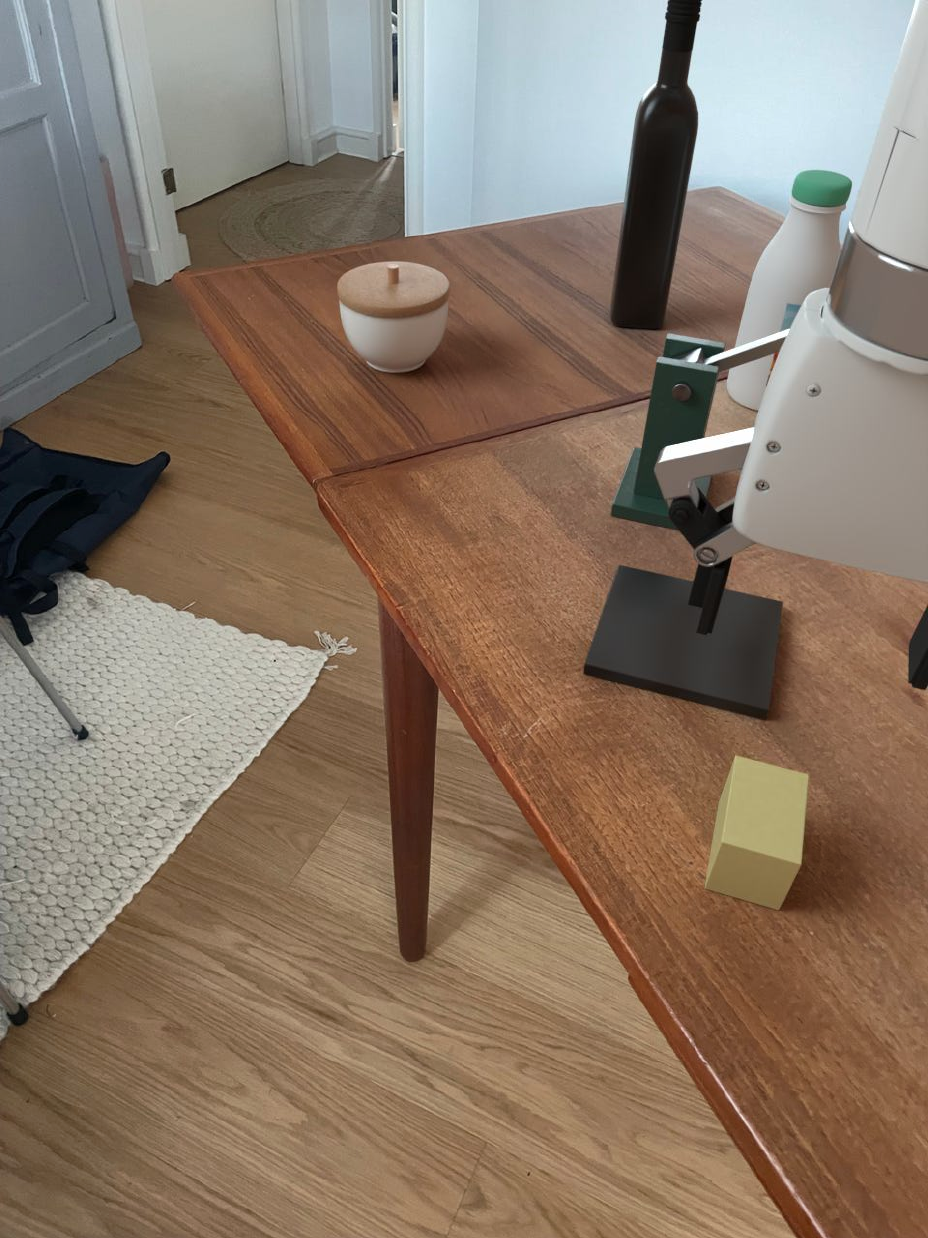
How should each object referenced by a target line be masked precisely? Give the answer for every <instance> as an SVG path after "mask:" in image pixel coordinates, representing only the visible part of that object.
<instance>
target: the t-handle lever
mask: <svg viewBox="0 0 928 1238" xmlns="http://www.w3.org/2000/svg"><path fill="white" fill-rule="evenodd" d="M789 330H790V329H787V330H785V331H782V332H779V333H776V334H773V335H771V336H768V337H765V338H762V339H759V340H757V341H754V342H751V343H748V344H745V345H743V346H740V347H737V348H735V347H734V348H731V349H728V350H726V351H724V352H723V353H720V354H717V355H715V356H712V357H709V358H705V356H704V353H703V351H702V349H701V348H700V349H697V350H694V351H691V352H689V353H686V354H683V355H681V356H678V357H675V358H672V359H677V360H682V361H688V362H694V363H700V364H706V365H711V366H717V367H719V370H718V373H719V374H720V373H722V372H725V371H729V370H730V369H731V368H734V367H737V366H739V365H742V364H745V363H748V362H751V361H754V360H757V359H760V358H763V357H765V356H768V355H771V354H774V353H777V352H780V349H781V347H782V345H783V343H784V341H785V338H786V336H787V334H788V332H789Z"/></svg>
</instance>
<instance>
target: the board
mask: <svg viewBox="0 0 928 1238" xmlns="http://www.w3.org/2000/svg"><path fill="white" fill-rule="evenodd" d="M693 582H694V580H689V579H684V578H681V577H675V576H671V575H667V574H662V573H657V572H654V571H649V570H645V569H641V568H635V567H631V566H626V565H624V564H618V565H617V567H616V571H615V573H614V576H613V579H612V583H611V585H610V588H609V591H608V593H607V598H606V599H605V603H604V605H603V608H602V611H601V614H600V617H599V619H598V623H597V626H596V628H595V632H594V634H593V637H592V641H591V642H590V643H591V644H590V647H589V649H588V652H587V655H586V658H585V660H584V663H583V671H582V673H583V675H586V676H590V677H595V678H598V679H603V680H607V681H609V682H613V683H618V684H622V685H626V686H629V687H632V688H633V687H635V688H637V689H641V690H645V691H650V692H654V693H657V694H661V695H665V696H669V697H674V698H678V699H680V700H685V701H689V702H693V703H696V704H701V705H705V706H708V707H713V708H717V709H721V710H725V711H729V712H733V713H736V714H740V715H744V716H748V717H752V718H756V719H760V720H765V721H766V719H767V717H768V714H769V711H770V704H771V698H772V689H773V682H774V675H775V666H776V659H777V652H778V645H779V638H780V637H779V636H780V629H781V622H782V614H783V606H784V601H782V600H778V599H773V598H768V597H765V596H760V595H755V594H751V593H748V592H747V593H746V592H742V591H737V590H735V589H734V590H733V589H729V588H725V589H724V592H723V596H722V599H721V603H720V606H719V610H718V613H717V617H716V620H715V624H714V627H713V631H712V634H710V633H707V635H703V634H699V633H696V631H697V627H698V623H699V619H700V616H701V612H702V608H700V607H696V606H692V605H688V602H689V598H690V594H691V590H692V586H693Z"/></svg>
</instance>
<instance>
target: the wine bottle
mask: <svg viewBox="0 0 928 1238" xmlns="http://www.w3.org/2000/svg"><path fill="white" fill-rule="evenodd" d="M702 1H703V0H667V6H666V11H665V15H664V19H665V26H664V27H665V28H664V33H663V34H664V35H663V40H662V47H661V56H660V61H659V62H660V63H659V70H658V76H657V81H656V83H654V84H652V86H651V87H649V88H648V90H646V92H645V93H644V94H643V96H642V97H641V99H640V100H639V103H638V106H637V109H636V111H635V117H634V124H633V133H632V138H631V139H632V140H631V145H630V146H631V147H630V152H629V153H630V156H629V160H628V161H629V162H628V167H627V168H628V169H627V177H626V184H625V192H624V200H623V208H622V213H621V221H620V229H619V238H618V244H617V252H616V258H615V259H616V260H615V268H614V274H613V281H612V282H613V283H612V290H611V298H610V305H609V306H610V307H609V309H610V321H611V323H612V325H614V326H617V327H621V328H632V329H633V328H635V329H647V330H648V329H650V330H651V329H652V330H658V329H660V328H662V327H663V326H664V324H665V321H666V314H667V307H668V302H669V296H670V292H671V285H672V279H673V275H674V274H673V273H674V267H675V261H676V256H677V251H678V246H679V239H680V234H681V228H682V222H683V217H684V211H685V205H686V200H687V194H688V188H689V182H690V176H691V171H692V165H693V160H694V155H695V148H696V144H697V138H698V132H699V131H698V130H699V110H698V105H697V101H696V97H695V95H694V93H693V90H692V89H691V87H690V86H689V83H688V81H689V74H690V68H691V62H692V56H693V50H694V46H695V45H694V44H695V39H696V34H697V33H696V32H697V26H698V22H699V21H700V19H701V14H700V13H701V11H702V10H701V9H702V4H703V3H702Z"/></svg>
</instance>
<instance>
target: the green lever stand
mask: <svg viewBox="0 0 928 1238" xmlns="http://www.w3.org/2000/svg"><path fill="white" fill-rule="evenodd" d="M726 344H727V343H726V342H723V341H716V340H710V339H704V338H698V337H692V336H687V335H681V334H675V333H667V335H666V338H665V340H664V347H663V352H662V356H658V357H657V360H656V363H655V369H654V374H653V380H652V385H651V390H650V395H649V396H650V397H649V402H648V407H647V413H646V420H645V425H644V429H643V430H644V431H643V435H642V443H641V447H637V446H634V447H633V448H632V452H631V454H630V457H629V459H628V462H627V464H626V467H625V469H624V472H623V475H622V478H621V480H620V483H619V486H618V488H617V490H616V494H615V497H614V499H613V501H612V504H611V510H610V516H611V517H614V518H619V519H624V520H629V521H634V522H638V523H643V524H648V525H653V526H657V527H662V528H666V529H671V530H675V531H679V530H678V528H677V527H676V526H675V525H674V523H673V522H672V521H671V520H670V518H669V515H668V512H669V507H668V505H667V502H666V500H664V497H663V494H662V492H661V489H660V486H659V483H658V481H657V478H656V475H655V472H654V467H655V464H656V462H657V459H658V456H659V454H660V451H661V450H662V449H663V448H665V447H667V446H672V445H676V444H681V443H685V442H690V441H694V440H699V439H703V438H706V437H705V436H706V433H707V429H708V423H709V419H710V415H711V410H712V406H713V401H714V397H715V394H716V388H717V384H718V381H719V375H720V372H719V373H718V370H719V367H717V366H711V365H706V364H700V363H694V362H688V361H682V360H677V359H672V358H675V357H678V356H681V355H683V354H686V353H689V352H691V351H694V350H697V349H700V348H701V349H702V351H703V353H704V356H705V358H709V357H712V356H715V355H717V354H720V353H723V352H725V349H726ZM712 477H713V475H712V476H707V477H702V478H697V479H695V484H696V486H697V487H698V488H699V489H700V490H701V492H702V493H703V494H704V496H705V497H706V498H707V497H708V493H709V489H710V485H711V481H712V479H713V478H712ZM707 499H708V498H707Z"/></svg>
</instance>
